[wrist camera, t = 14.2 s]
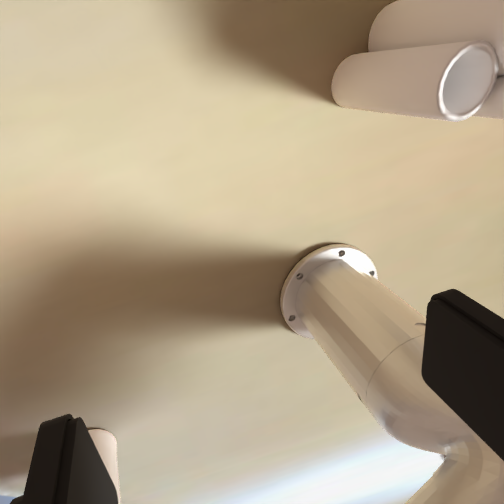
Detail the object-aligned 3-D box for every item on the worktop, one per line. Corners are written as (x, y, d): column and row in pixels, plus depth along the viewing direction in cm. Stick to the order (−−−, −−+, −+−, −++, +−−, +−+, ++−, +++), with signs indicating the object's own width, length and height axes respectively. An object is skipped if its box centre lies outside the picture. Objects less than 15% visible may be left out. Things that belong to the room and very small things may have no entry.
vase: (400, -18, 34) (688, -120, 17) (440, 41, 38) (714, 7, 20) (321, 88, 36) (510, 95, 18) (366, 135, 39) (561, 179, 22)
